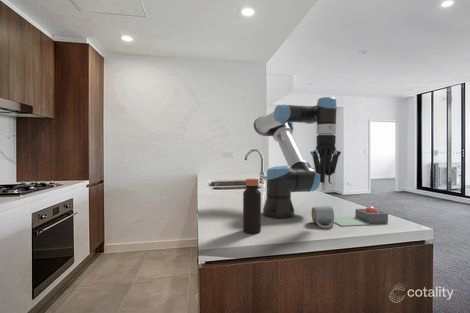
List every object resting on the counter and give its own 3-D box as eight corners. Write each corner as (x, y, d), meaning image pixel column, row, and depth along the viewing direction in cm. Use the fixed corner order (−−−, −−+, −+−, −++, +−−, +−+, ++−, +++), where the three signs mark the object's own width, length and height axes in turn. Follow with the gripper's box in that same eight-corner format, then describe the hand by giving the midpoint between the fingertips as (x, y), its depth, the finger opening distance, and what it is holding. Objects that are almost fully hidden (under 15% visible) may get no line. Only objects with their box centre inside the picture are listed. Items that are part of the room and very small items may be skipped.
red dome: (369, 220, 104) (369, 208, 103) (359, 216, 110) (360, 205, 110) (382, 219, 105) (383, 208, 104) (372, 215, 111) (372, 204, 111)
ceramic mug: (310, 220, 106) (311, 203, 106) (330, 221, 105) (330, 204, 105) (315, 229, 96) (315, 210, 95) (337, 229, 94) (337, 210, 94)
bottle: (260, 234, 88) (260, 180, 88) (241, 233, 90) (241, 180, 89) (261, 228, 95) (261, 178, 95) (244, 227, 96) (244, 178, 96)
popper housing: (368, 223, 102) (369, 214, 102) (355, 217, 111) (355, 209, 111) (387, 222, 103) (388, 213, 103) (373, 216, 112) (373, 208, 112)
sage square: (341, 226, 98) (341, 225, 98) (324, 217, 111) (324, 216, 111) (370, 225, 100) (370, 224, 100) (350, 216, 113) (350, 215, 113)
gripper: (316, 134, 96) (315, 192, 97) (345, 134, 99) (344, 191, 100) (307, 135, 104) (306, 189, 105) (334, 135, 106) (333, 188, 107)
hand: (324, 190), depth 102 cm, fingers closed
